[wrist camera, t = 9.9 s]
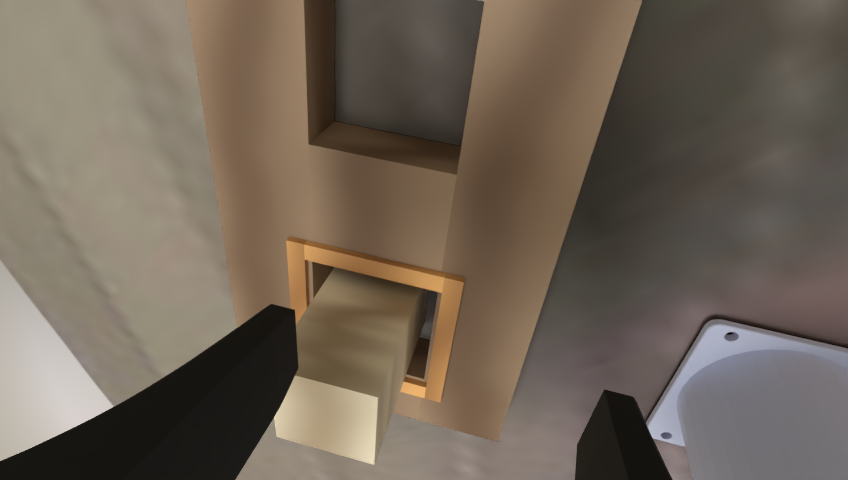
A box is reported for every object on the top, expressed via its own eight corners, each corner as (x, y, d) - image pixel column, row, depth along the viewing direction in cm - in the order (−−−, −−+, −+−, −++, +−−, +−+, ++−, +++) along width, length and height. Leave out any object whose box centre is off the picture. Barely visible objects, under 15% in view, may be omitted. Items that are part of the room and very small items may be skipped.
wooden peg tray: (664, -114, 14) (683, -119, 11) (502, 402, 27) (496, 447, 24) (211, -166, 16) (150, -181, 13) (267, 339, 29) (241, 375, 26)
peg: (431, 260, 23) (377, 397, 16) (424, 322, 25) (374, 464, 19) (350, 242, 23) (267, 367, 17) (350, 305, 26) (276, 436, 19)
